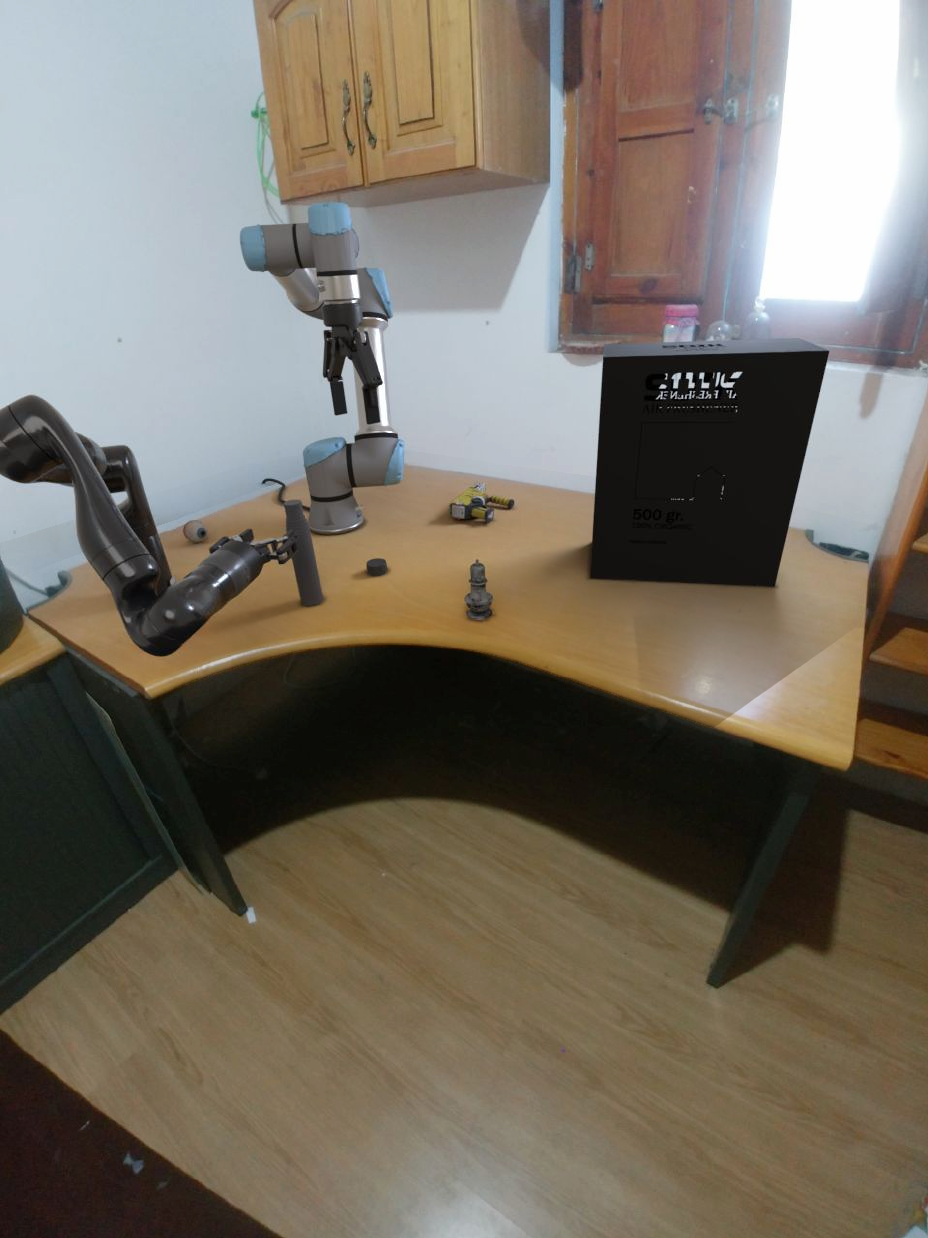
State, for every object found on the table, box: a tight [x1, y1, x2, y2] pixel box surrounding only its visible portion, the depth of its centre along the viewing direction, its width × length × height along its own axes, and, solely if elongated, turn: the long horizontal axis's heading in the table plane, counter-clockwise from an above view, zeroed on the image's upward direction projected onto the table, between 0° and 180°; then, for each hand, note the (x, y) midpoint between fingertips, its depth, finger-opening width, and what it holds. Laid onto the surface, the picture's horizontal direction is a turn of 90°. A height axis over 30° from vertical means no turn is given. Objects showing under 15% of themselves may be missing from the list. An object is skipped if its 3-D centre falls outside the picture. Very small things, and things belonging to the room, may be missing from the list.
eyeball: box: [182, 519, 208, 544], centre depth 162 cm, size 6×6×6 cm
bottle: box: [283, 499, 324, 607], centre depth 125 cm, size 5×5×22 cm
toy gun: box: [448, 481, 515, 523], centre depth 173 cm, size 5×24×15 cm
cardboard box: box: [589, 337, 830, 587], centre depth 126 cm, size 38×20×45 cm, turn 78°
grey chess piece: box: [463, 559, 494, 621], centre depth 118 cm, size 6×6×12 cm
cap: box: [365, 557, 388, 577], centre depth 141 cm, size 5×5×2 cm
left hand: (272, 533), depth 112 cm, fingers open, 8 cm apart
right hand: (356, 418), depth 124 cm, fingers open, 13 cm apart
